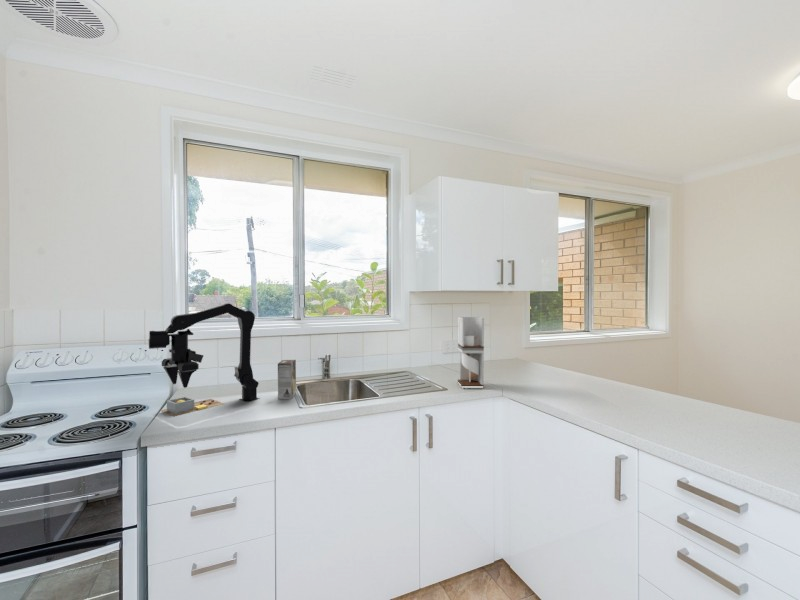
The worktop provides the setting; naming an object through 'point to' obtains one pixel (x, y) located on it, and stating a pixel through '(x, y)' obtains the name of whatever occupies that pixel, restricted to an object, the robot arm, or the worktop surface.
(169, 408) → the grey open box
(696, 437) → the worktop surface
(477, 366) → the display case
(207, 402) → the rack board
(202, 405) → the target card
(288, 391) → the coffee box
